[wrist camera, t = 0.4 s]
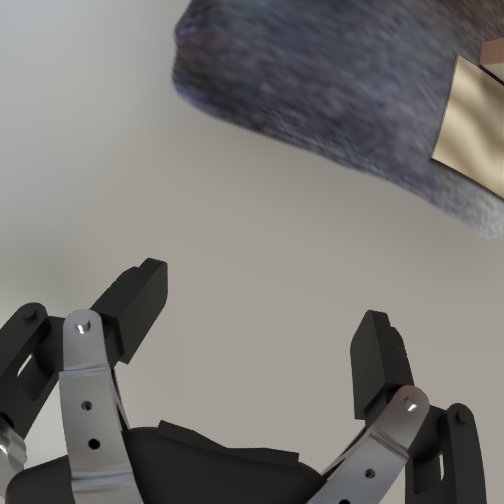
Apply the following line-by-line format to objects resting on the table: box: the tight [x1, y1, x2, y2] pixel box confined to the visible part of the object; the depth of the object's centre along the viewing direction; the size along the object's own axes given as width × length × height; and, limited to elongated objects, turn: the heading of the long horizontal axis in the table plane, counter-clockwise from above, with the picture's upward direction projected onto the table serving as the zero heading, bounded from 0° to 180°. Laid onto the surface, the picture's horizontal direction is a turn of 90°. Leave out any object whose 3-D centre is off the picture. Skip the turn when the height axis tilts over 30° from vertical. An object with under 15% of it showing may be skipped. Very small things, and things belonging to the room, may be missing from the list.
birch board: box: [431, 55, 504, 198], centre depth 27 cm, size 16×16×1 cm
